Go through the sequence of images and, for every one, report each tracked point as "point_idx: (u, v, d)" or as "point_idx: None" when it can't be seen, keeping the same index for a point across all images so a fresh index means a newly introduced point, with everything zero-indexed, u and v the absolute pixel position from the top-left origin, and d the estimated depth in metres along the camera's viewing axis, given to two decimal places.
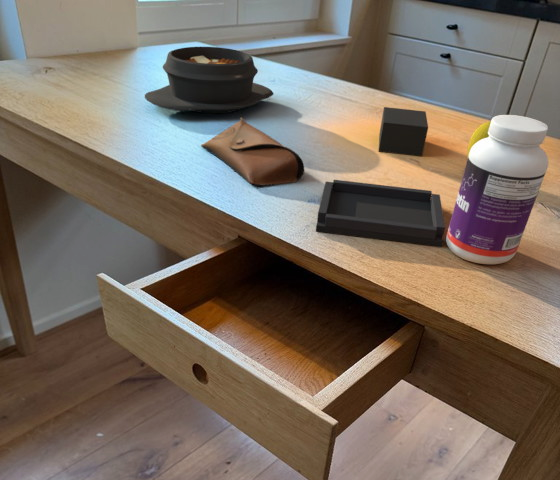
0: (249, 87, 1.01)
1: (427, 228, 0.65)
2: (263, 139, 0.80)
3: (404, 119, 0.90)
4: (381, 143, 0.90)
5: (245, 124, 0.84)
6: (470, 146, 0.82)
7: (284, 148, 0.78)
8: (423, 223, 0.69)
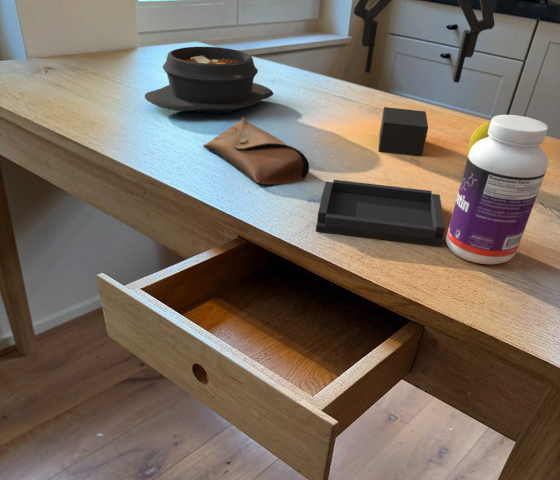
0: (249, 87, 1.01)
1: (427, 228, 0.65)
2: (267, 138, 0.80)
3: (404, 119, 0.90)
4: (381, 143, 0.90)
5: (247, 124, 0.85)
6: (470, 146, 0.82)
7: (289, 147, 0.78)
8: (423, 223, 0.69)
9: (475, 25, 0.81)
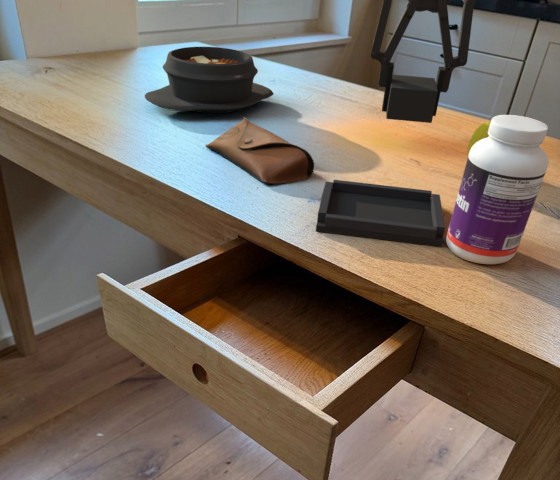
0: (249, 87, 1.01)
1: (427, 228, 0.65)
2: (271, 137, 0.81)
3: (412, 85, 0.87)
4: (389, 110, 0.87)
5: (250, 123, 0.85)
6: (470, 146, 0.82)
7: (294, 146, 0.79)
8: (423, 223, 0.69)
9: (449, 62, 0.84)
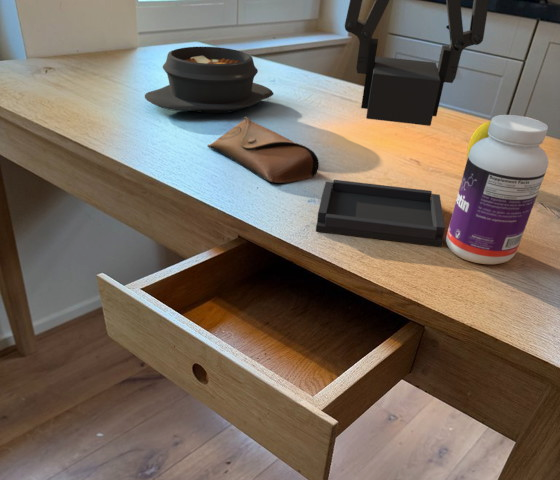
0: (249, 87, 1.01)
1: (427, 228, 0.65)
2: (275, 137, 0.81)
3: (404, 70, 0.60)
4: (370, 106, 0.61)
5: (252, 123, 0.85)
6: (470, 146, 0.82)
7: (298, 145, 0.79)
8: (423, 223, 0.69)
9: (458, 39, 0.58)
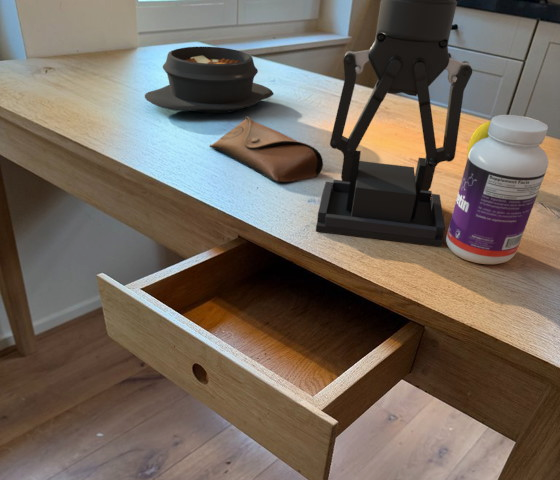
0: (249, 87, 1.01)
1: (427, 228, 0.65)
2: (278, 136, 0.81)
3: (384, 181, 0.67)
4: (353, 213, 0.67)
5: (254, 122, 0.85)
6: (470, 146, 0.82)
7: (303, 144, 0.79)
8: (423, 223, 0.69)
9: (432, 156, 0.65)
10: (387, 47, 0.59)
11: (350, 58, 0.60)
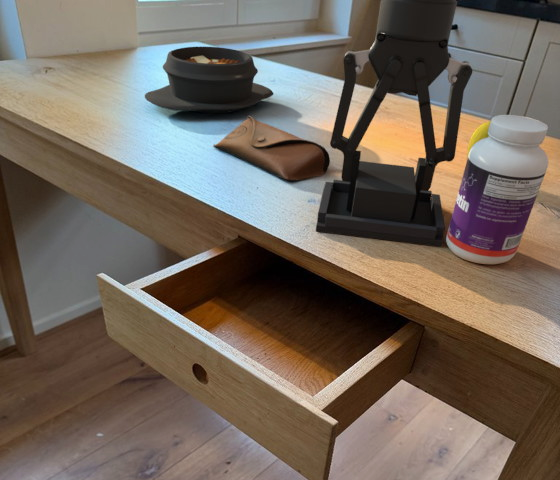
0: (249, 87, 1.01)
1: (427, 228, 0.65)
2: (284, 135, 0.82)
3: (384, 181, 0.67)
4: (353, 213, 0.67)
5: (258, 122, 0.86)
6: (470, 146, 0.82)
7: (310, 142, 0.80)
8: (423, 223, 0.69)
9: (432, 156, 0.65)
10: (387, 47, 0.59)
11: (350, 58, 0.60)
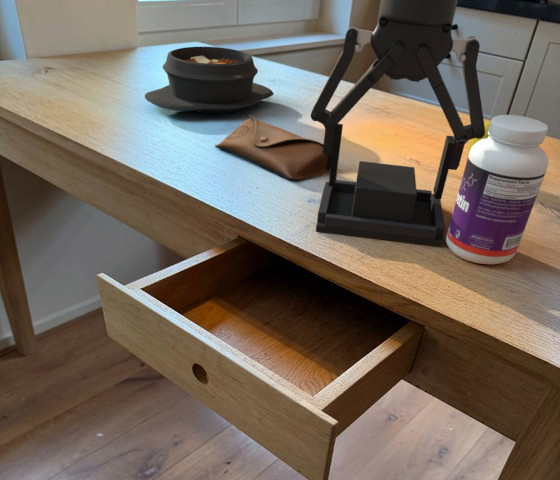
0: (249, 87, 1.01)
1: (427, 228, 0.65)
2: (286, 134, 0.82)
3: (385, 181, 0.67)
4: (354, 213, 0.67)
5: (259, 121, 0.86)
6: (470, 146, 0.82)
7: (313, 142, 0.81)
8: (423, 223, 0.69)
9: (460, 134, 0.63)
10: (390, 32, 0.58)
11: (353, 34, 0.58)
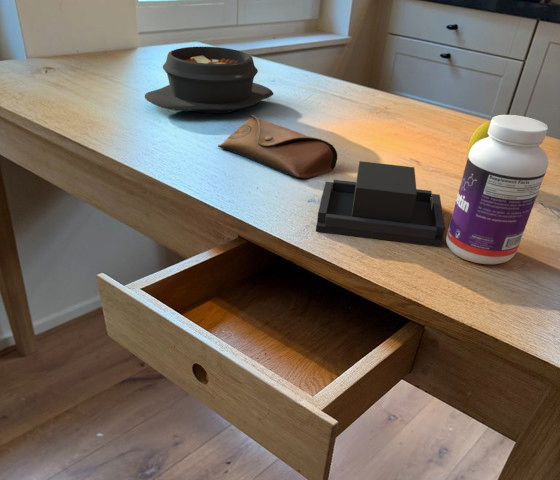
0: (249, 87, 1.01)
1: (427, 228, 0.65)
2: (291, 133, 0.83)
3: (385, 181, 0.67)
4: (354, 213, 0.67)
5: (262, 121, 0.86)
6: (470, 146, 0.82)
7: (318, 140, 0.81)
8: (423, 223, 0.69)
9: None
10: None
11: None
